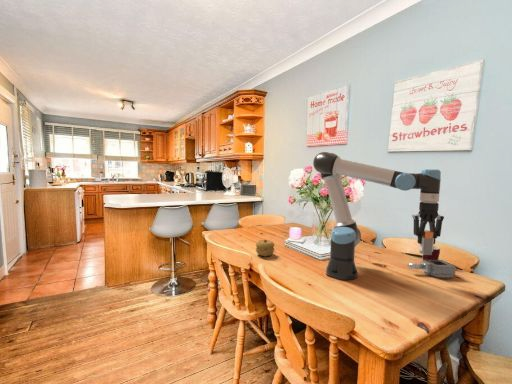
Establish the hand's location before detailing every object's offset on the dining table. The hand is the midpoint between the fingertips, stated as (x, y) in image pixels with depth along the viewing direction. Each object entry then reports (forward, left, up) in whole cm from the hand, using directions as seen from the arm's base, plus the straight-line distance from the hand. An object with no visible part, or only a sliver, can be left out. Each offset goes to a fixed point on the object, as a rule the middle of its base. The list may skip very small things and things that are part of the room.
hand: (425, 250), depth 122 cm
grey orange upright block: (0, 0, -2) cm, 2 cm away
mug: (+16, +23, -15) cm, 32 cm away
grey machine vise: (+8, +9, -15) cm, 19 cm away
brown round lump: (-78, +32, -15) cm, 86 cm away
